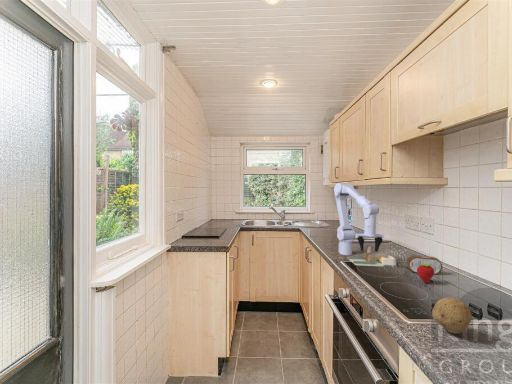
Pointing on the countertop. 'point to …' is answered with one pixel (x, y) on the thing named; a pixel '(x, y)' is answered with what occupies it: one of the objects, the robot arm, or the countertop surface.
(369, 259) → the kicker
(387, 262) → the pitch
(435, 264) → the tin
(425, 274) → the strawberry
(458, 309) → the brown lumpy oval
